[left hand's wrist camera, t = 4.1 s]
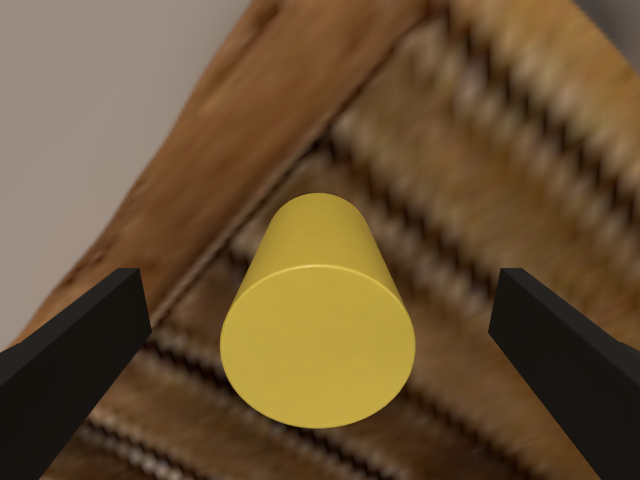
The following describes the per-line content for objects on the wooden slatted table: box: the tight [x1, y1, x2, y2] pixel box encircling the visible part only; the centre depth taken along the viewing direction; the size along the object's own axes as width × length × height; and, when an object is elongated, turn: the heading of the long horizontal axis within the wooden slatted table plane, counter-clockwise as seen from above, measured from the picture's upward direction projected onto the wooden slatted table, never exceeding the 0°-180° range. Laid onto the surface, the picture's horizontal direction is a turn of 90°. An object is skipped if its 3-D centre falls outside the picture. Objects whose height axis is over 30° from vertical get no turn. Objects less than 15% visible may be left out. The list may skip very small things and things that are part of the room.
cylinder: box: [220, 193, 416, 428], centre depth 15 cm, size 6×6×10 cm
